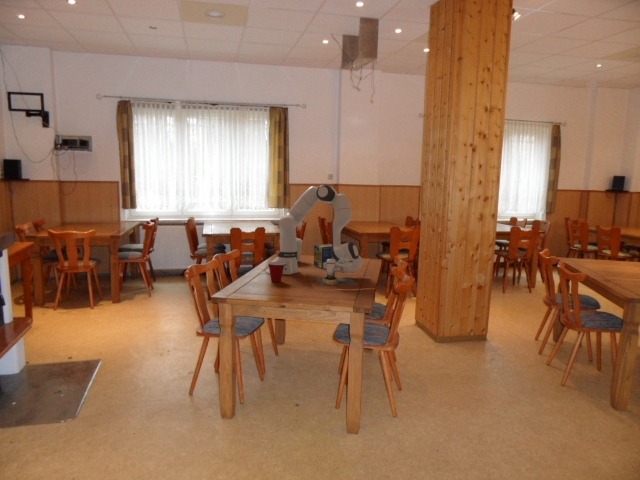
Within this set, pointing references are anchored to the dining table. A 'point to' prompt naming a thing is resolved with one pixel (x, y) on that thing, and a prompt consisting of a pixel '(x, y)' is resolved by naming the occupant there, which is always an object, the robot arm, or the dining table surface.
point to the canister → (299, 245)
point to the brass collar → (329, 281)
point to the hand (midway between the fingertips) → (329, 268)
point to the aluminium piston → (330, 269)
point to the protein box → (322, 254)
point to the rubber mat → (339, 282)
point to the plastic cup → (276, 271)
